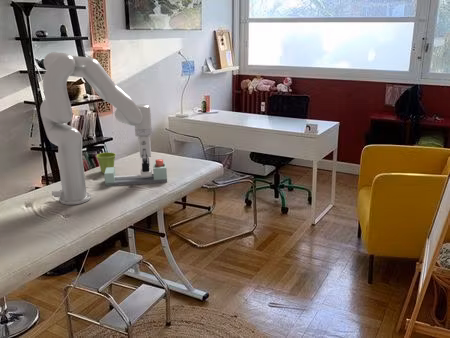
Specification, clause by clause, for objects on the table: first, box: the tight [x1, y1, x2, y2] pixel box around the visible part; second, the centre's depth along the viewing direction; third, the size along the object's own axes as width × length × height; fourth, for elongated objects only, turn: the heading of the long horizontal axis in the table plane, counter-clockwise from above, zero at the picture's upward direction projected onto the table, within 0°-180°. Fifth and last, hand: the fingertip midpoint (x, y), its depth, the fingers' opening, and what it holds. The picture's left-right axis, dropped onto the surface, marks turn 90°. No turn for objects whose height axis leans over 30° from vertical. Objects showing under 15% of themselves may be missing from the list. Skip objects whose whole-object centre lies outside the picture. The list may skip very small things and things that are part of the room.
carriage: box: [140, 158, 153, 177], centre depth 208 cm, size 5×6×7 cm
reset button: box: [154, 158, 164, 167], centre depth 209 cm, size 4×4×3 cm
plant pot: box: [95, 152, 117, 174], centre depth 222 cm, size 9×9×9 cm
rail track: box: [103, 161, 168, 187], centre depth 209 cm, size 28×9×7 cm, turn 99°
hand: (146, 168), depth 208 cm, fingers open, 7 cm apart
